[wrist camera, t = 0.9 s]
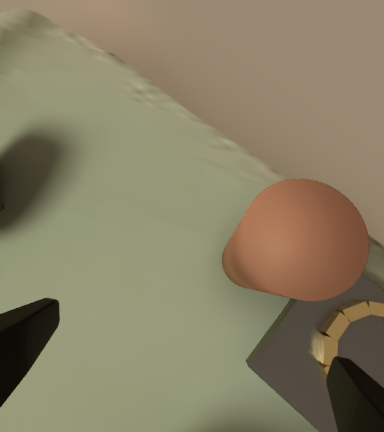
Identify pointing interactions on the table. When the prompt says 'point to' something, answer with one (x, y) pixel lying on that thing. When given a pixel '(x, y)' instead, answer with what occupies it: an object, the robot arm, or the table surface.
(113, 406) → the table surface
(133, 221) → the table surface
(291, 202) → the orange tapered capsule
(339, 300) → the plate
